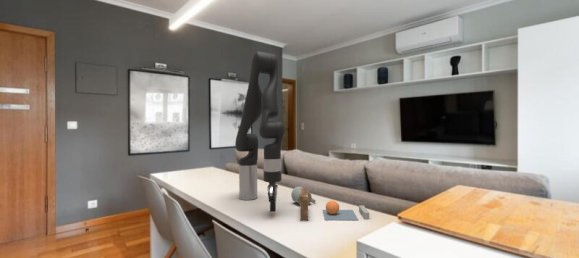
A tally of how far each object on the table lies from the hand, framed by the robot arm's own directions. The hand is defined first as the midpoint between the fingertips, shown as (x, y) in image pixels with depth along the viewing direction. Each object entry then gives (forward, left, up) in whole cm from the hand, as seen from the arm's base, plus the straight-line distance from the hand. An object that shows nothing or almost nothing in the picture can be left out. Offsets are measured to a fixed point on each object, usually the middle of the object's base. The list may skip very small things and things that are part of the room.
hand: (272, 211), depth 115 cm
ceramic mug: (-6, +20, -2) cm, 21 cm away
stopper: (+21, +31, -2) cm, 38 cm away
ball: (+13, +21, +1) cm, 25 cm away
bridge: (+7, +11, -2) cm, 13 cm away
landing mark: (+16, +22, -2) cm, 28 cm away
